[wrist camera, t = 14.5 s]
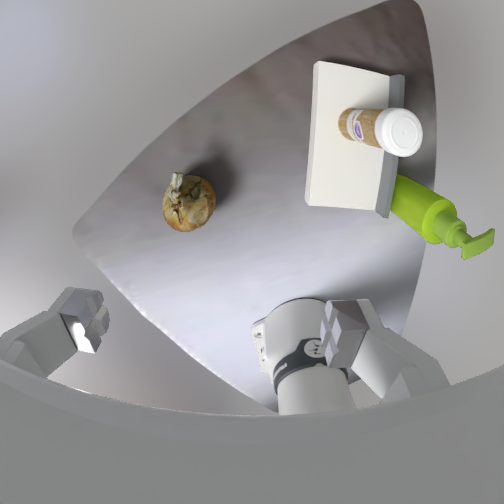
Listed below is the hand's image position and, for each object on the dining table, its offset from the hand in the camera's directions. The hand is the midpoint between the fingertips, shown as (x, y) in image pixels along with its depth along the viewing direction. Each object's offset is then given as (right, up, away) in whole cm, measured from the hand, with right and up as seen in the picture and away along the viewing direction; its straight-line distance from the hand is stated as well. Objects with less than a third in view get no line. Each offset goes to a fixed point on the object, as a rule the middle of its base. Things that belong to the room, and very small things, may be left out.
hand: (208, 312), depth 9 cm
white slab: (+15, +18, +26) cm, 35 cm away
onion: (-7, +10, +30) cm, 33 cm away
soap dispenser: (+25, +12, +29) cm, 40 cm away
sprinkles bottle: (+15, +19, +22) cm, 33 cm away
